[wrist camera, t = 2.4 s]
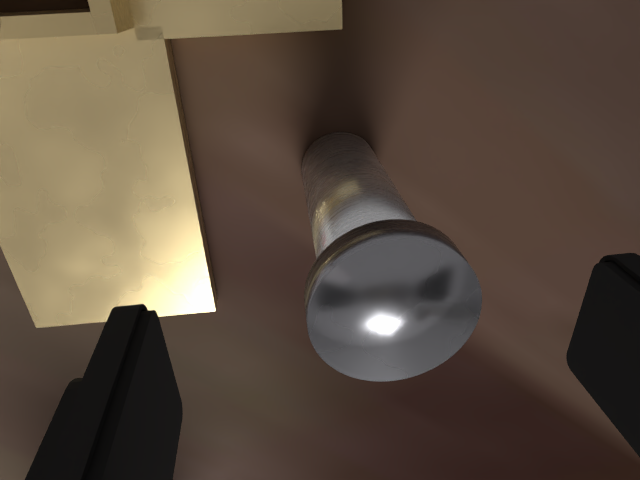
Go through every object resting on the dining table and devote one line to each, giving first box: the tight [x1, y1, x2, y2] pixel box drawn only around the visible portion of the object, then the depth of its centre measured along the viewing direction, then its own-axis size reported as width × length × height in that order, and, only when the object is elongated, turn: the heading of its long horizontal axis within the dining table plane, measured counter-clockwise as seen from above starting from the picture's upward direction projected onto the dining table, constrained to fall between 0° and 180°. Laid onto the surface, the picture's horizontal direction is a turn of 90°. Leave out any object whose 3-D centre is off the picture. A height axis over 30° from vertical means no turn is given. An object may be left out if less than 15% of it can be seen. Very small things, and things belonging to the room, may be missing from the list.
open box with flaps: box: [0, 0, 342, 328], centre depth 16 cm, size 14×19×3 cm
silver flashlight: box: [301, 132, 482, 381], centre depth 15 cm, size 4×4×10 cm
